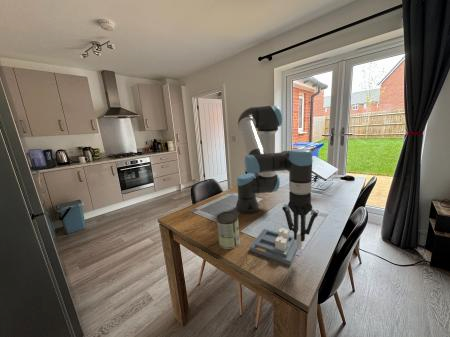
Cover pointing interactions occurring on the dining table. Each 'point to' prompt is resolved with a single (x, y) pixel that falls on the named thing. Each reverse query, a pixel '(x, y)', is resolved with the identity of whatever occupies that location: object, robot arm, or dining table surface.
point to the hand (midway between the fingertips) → (299, 246)
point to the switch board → (267, 247)
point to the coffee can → (228, 230)
